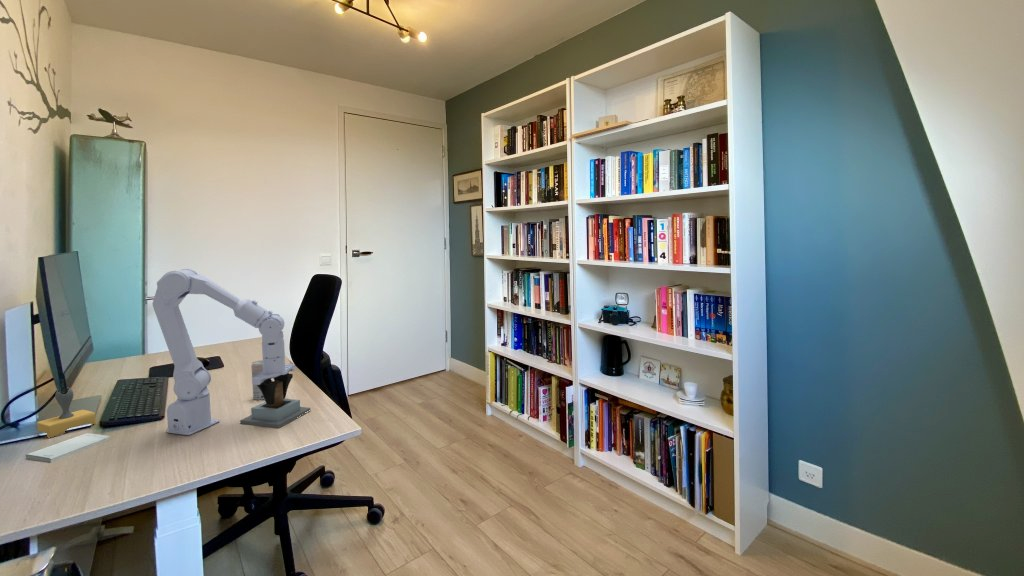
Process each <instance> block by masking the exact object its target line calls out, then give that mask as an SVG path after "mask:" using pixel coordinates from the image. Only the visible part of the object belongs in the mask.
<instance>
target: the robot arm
mask: <svg viewBox="0 0 1024 576" xmlns="http://www.w3.org/2000/svg"><path fill="white" fill-rule="evenodd" d="M156 287H157V288H156V291H155V293H154V298H153V300H152V308H153V311H154V313H155V315H156V316H155V317H156V319H157V322H158V324H159V327H160V330H161V333H162V335H163V338H164V340H165V343H166V346H167V349H168V352H169V355H170V357H171V360H172V363H173V365H174V367H173V375H172V377H173V380H174V381H173V382H174V384H173V392H174V394H175V395H176V397H177V398H176V400H174V402H172V403H170V404H169V405H168V407H167V409H166V417H167V419H166V421H167V430H166V431H165V433H170V434H176V435H183V436H184V435H185V436H191V435H192V434H196V433H197V432H199V431H201V430H204V429H206V428H208V427H211V426H212V425H215V424H218V423H219V422H220V420H219V419H213V418H212V412H211V411H212V410H211V398H210V396H211V395H210V389H208V385H210V383H211V381H212V376H211V373H210V371H208V370H207V369H206V368H205V367H204V364H203V362H202V361H200V360H199V359H198V358H197V354H196V352H195V349H194V345H193V344H192V340H191V338H190V335H189V332H188V330H187V329H188V328H187V327H186V326H187V325H186V323H185V320H184V318H183V314H182V311H181V309H180V304H181V303H182V301H183V300H184V299H185V298H186V297H187V295H205V296H206V297H209V298H211V299H213V300H214V301H217V302H218V303H220V304H222V305H224V306H226V307H228V309H232V310H233V313H234V316H235V317H236V318H238V319H239V320H241V321H243V322H245V323H247V325H250V326H251V327H253V328H255V329H258V331H259V333H260V335H261V338H262V339H261V340H262V341H261V350H262V353H261V354H262V360H263V372H262V373H260V374H259V375H257V376H255V377H253V378H252V377H251V384H253V385H257V386H258V387H259V389H260V390H261V392H262V394H263V396H264V398H265V399H264V402H266V404H271V405H272V404H274V399H275V388H276V384H277V382H274V381H282V382H283V399H286V396H287V393H288V388H289V386H290V383H291V381H292V379H293V376H294V375H293V373H290V372H294V371H296V364H293V363H288V364H286V360H285V359H286V353H285V339H284V331H283V329H284V327H285V320H284V318H283V317H282V316H280V314H278V313H273V311H272V310H267V309H266V308H264V307H262V306H261V305H259V304H258V301H257V300H255V299H253V300H251V299H240V298H238V297H237V296H235V295H234V294H232V293H231V292H229V291H228V290H226V289H225V288H224V287H222V286H221V285H219V284H217V283H215V281H213V280H211V279H210V278H208V277H206V276H205V275H203V274H200V273H198V272H196V271H195V270H193V269H192V268H191V269H190V268H184V269H180V270H171V271H168V272H166V273H164V274H163V275H162V276H161V277H160V278H159V280H158V281H157V282H156Z"/></svg>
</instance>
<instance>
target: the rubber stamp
mask: <svg viewBox="0 0 1024 576" xmlns="http://www.w3.org/2000/svg"><path fill="white" fill-rule="evenodd" d="M68 388H69V390H68V392H67V393H66V394H61V393H60V392H58V390H56V391H55V396H54V397H55V400H56V402H57V403H58V405H59V406H60V408H61V410H62V414H60V415H58V416H54V417H50V418H46V419H44V420H39V421H37V422H36V425H37V432H38V431H42V432H45V433H47V437H52V438H55V437H54V436H56V437H58V436H57V435H59V436H61V435H60V434H62V435H64V434H63V433H65V431H67V429H69V428H71V427H75V426H79V425H83V424H86V423H92V424H95V425H97V420H96V412H94V411H91V410H86V409H80V410H76V411H72V412H71V411H70V406H71V404H72V401H73V399H74V391H73V390H72V389H71V388H70V387H68ZM65 434H66V433H65Z"/></svg>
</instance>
